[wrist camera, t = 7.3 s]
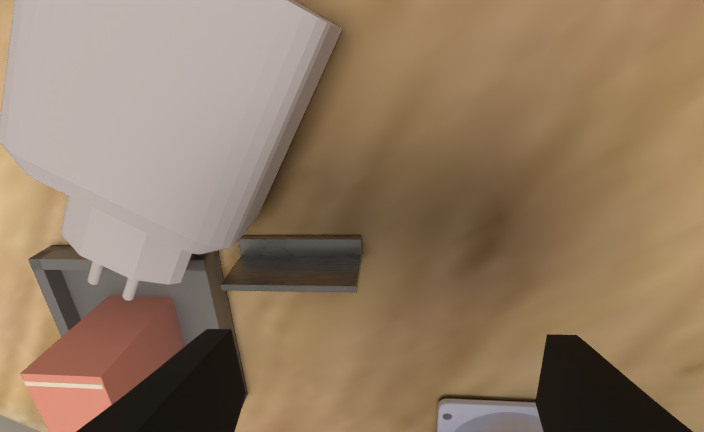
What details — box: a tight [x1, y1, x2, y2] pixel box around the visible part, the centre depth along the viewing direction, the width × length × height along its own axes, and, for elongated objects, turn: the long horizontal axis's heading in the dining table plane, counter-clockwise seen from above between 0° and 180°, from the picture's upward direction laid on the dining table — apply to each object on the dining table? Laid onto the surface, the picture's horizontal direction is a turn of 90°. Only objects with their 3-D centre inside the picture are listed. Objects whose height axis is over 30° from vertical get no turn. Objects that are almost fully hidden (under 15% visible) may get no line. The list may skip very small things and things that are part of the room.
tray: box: [28, 245, 248, 406], centre depth 22 cm, size 10×9×2 cm
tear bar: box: [220, 236, 362, 292], centre depth 18 cm, size 1×6×3 cm, turn 93°
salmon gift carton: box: [20, 296, 185, 432], centre depth 19 cm, size 4×4×6 cm
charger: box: [0, 0, 342, 301], centre depth 16 cm, size 5×9×15 cm
